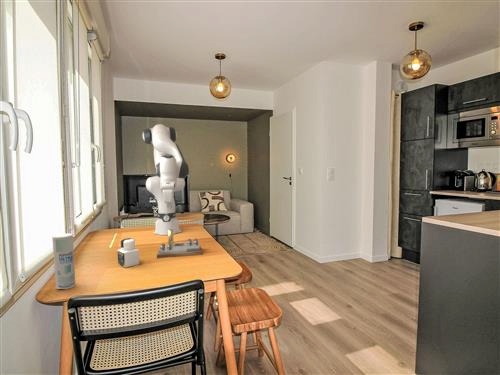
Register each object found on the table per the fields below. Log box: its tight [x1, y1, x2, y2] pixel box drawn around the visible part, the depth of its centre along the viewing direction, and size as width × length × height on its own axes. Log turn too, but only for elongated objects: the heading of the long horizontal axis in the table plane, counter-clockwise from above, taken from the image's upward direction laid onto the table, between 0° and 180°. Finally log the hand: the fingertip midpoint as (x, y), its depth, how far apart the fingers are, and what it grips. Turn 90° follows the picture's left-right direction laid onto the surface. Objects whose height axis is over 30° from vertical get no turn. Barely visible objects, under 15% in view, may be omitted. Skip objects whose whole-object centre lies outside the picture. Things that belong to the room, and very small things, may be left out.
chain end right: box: [172, 238, 200, 252], centre depth 154 cm, size 7×14×5 cm, turn 103°
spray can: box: [52, 232, 76, 290], centre depth 111 cm, size 6×6×20 cm
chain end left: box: [158, 242, 187, 254], centre depth 152 cm, size 7×14×4 cm, turn 103°
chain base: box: [156, 245, 203, 259], centre depth 153 cm, size 11×22×2 cm, turn 103°
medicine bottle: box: [117, 237, 140, 269], centre depth 136 cm, size 7×7×12 cm
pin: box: [167, 229, 175, 246], centre depth 163 cm, size 3×3×10 cm
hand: (169, 209), depth 162 cm, fingers open, 8 cm apart
